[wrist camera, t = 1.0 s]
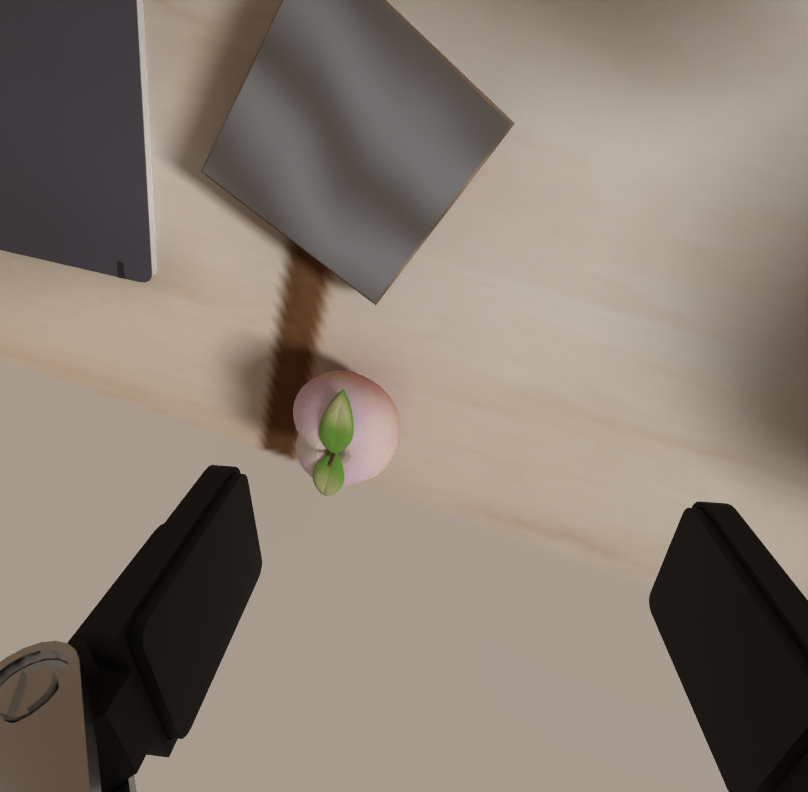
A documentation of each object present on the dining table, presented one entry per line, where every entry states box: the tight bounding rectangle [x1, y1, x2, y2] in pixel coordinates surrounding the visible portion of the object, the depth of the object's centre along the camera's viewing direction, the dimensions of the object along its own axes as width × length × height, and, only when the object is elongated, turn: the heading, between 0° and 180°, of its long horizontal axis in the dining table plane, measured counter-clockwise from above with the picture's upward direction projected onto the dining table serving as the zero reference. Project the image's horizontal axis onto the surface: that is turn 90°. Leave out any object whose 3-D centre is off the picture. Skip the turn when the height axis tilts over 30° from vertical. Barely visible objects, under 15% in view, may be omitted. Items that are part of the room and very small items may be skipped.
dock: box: [201, 0, 515, 305], centre depth 30 cm, size 14×14×4 cm
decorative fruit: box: [293, 370, 400, 496], centre depth 36 cm, size 9×8×10 cm
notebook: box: [0, 0, 157, 282], centre depth 32 cm, size 13×2×21 cm
